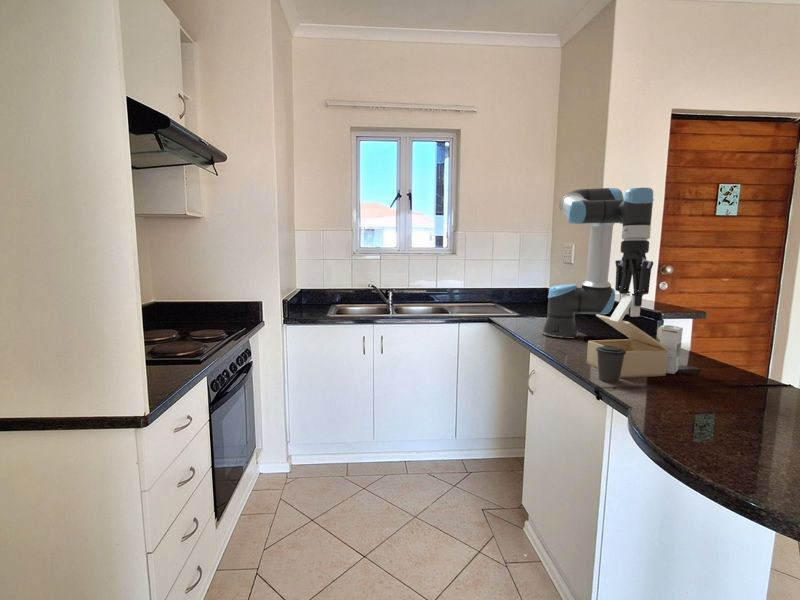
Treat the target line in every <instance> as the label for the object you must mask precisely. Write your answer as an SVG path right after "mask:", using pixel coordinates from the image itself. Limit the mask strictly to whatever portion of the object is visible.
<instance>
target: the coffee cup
mask: <svg viewBox="0 0 800 600" xmlns="http://www.w3.org/2000/svg"><path fill="white" fill-rule="evenodd" d="M596 351H597V356H598V368H597V369H598V370H597V371H598V372H597V373H598V379H599V380H600V381H601V382H606V383H611V384H615V383H619V382H620V379H621V378H620V374H621V369H622V364H623V359H624V354H626V352H625V350H623V349H621V348H618V347H613V346H602V347H597V349H596Z"/></svg>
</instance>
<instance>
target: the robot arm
mask: <svg viewBox="0 0 800 600" xmlns="http://www.w3.org/2000/svg"><path fill="white" fill-rule="evenodd" d="M653 204H654V190H653V188H651V187H634V188H633V187H632V188H629V189H626V190H625V193H624V195H623V192H622V190H621V189H619V188H616V187H615V188H614V187H605V188H602V187H601V188H582V189H581V188H580V189H574V190H572V191H570V192H567V193H566V194H565V195H563V197H561V199H560V202H559V210H560V211H561V213H562V214H563V215H564V216H566V220H567V222H568V223H569V224H575V225H580V224H582V225H583V224H589V226H590V231H589V241H588V252H587V253H588V254H587V266H586V277H585V280H584V281H583V282H582V283H581V287H578V286H577V284H575V283H573V284H571V283H569V284H559V285H558V284H557V285H552V286H551V287H550V288H549V289H548V295H547V299H548V302H547V316H546V320H545V323H544V325H543V328H542V333H543V332H545V333H548V334H551V335H556V336H563V337H577V336H578V337H579V330H578V326H577V323H576V320H575V318H576V314H579V315H580V314H583V315H585V314H587V315H596V314H598V315H607V314H608V315H609V314H610V312H611V311H612V310H613V307H614V304H615V300H616V292H618V293H619V302H620V301H621V299H622V298H623V296H624V295H625V296H631V306H630V308H629V310H628V311H627V313H626V314H625V315H629V317H632V318H634V317H635V318H637V317H640V316H641V306H642V302H643V296H644V295H649V293H650V291H649V290H650V284H651V283H650V282H651V276H652V275H651V274H652V269H653V266H654V261H652V260H651V261H650V260H648V259H647V255H646V254H648V253H649V250H650V241H649V239H650V238H651V230H652V229H651V227H652V226H651V225H652V216H653ZM615 224H621V225H622V229H621V230H622V232H621V239H622V241H620V253H622V254H623V255H622V257H621V259H620V260H615V262H614V263H615V267H616V269H615V270H616V271H615V288H612V283H610V282H609V272H610V263H611V262H610V261H611V260H610V259H611V251H612V240H613V231H614V225H615ZM631 283H632V284H633V286H632V287H633V293H631V291H629V290H630V288H631V287H630V286H631ZM578 337H577V338H578Z"/></svg>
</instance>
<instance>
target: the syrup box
mask: <svg viewBox="0 0 800 600" xmlns="http://www.w3.org/2000/svg"><path fill="white" fill-rule="evenodd" d="M683 330H684V328H683V327H681V326H676V325H671V324H670V325H669V324H668V325H667V324H665V325H664V324H662V325H660V326H658V327H657V332H656V340H657V341H658V342H660V343H661V344H662V345H664V346H665V347H667V348H668V354H667V366H666V374H670V375H671V374H673V375H675V374H676V373H678V371H679V367H680V357H681V349H682V347H681V346H682V340H683ZM658 348H659V347H658ZM661 349H662V348H661ZM664 350H665V349H664Z"/></svg>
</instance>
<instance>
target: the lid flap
mask: <svg viewBox="0 0 800 600" xmlns="http://www.w3.org/2000/svg"><path fill="white" fill-rule="evenodd" d="M631 296H632V295H630V296H625V295H624V296H623V298H622V299H621V301H620V300H619V303H618V305H617V306H616V307H615V309H614V311H613V312H612V314H611V315H610V316H606V315H604V314H599V315H598V314H595V316H596V317H597V318H599V319H601V320H602V321H603V322H605V323H606V324H608V325H609V326H611V327H612V328H614V329H615V330H617V331H618V332H619V333H621V334H623V335H625V336H626V337H627V338H628V339H631V340H634V341H638V342H641V343H644V344H648V345H651V346H654V347H659V348H662V349H665V350H668V348H667V347H665V346H664V345H662V344H661V343H660V342H658V341H657V339H655V338H654V337H653V336H650V335H649V334H648V333H646V332H645V331H644V330H641V329H640V328H639V327H637V326H636V325H635V324H633V323H631V322H630V321H626V320H623V319H624V317H625V316H626V315H627V314H626V313H627V311H628V310H629V311H630V309H631Z"/></svg>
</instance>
